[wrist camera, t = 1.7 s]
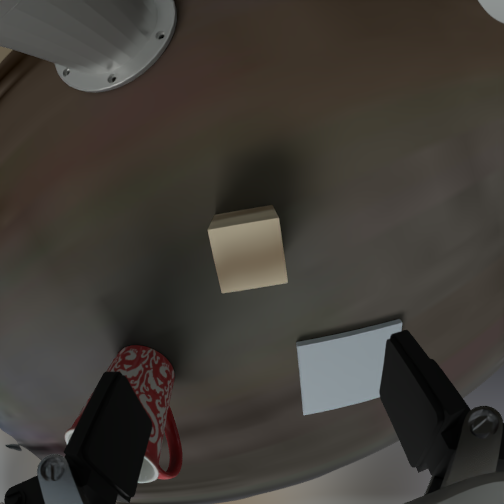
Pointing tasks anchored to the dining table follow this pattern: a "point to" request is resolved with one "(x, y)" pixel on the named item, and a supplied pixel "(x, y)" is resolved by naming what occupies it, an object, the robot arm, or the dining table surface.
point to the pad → (343, 367)
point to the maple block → (248, 249)
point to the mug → (150, 406)
